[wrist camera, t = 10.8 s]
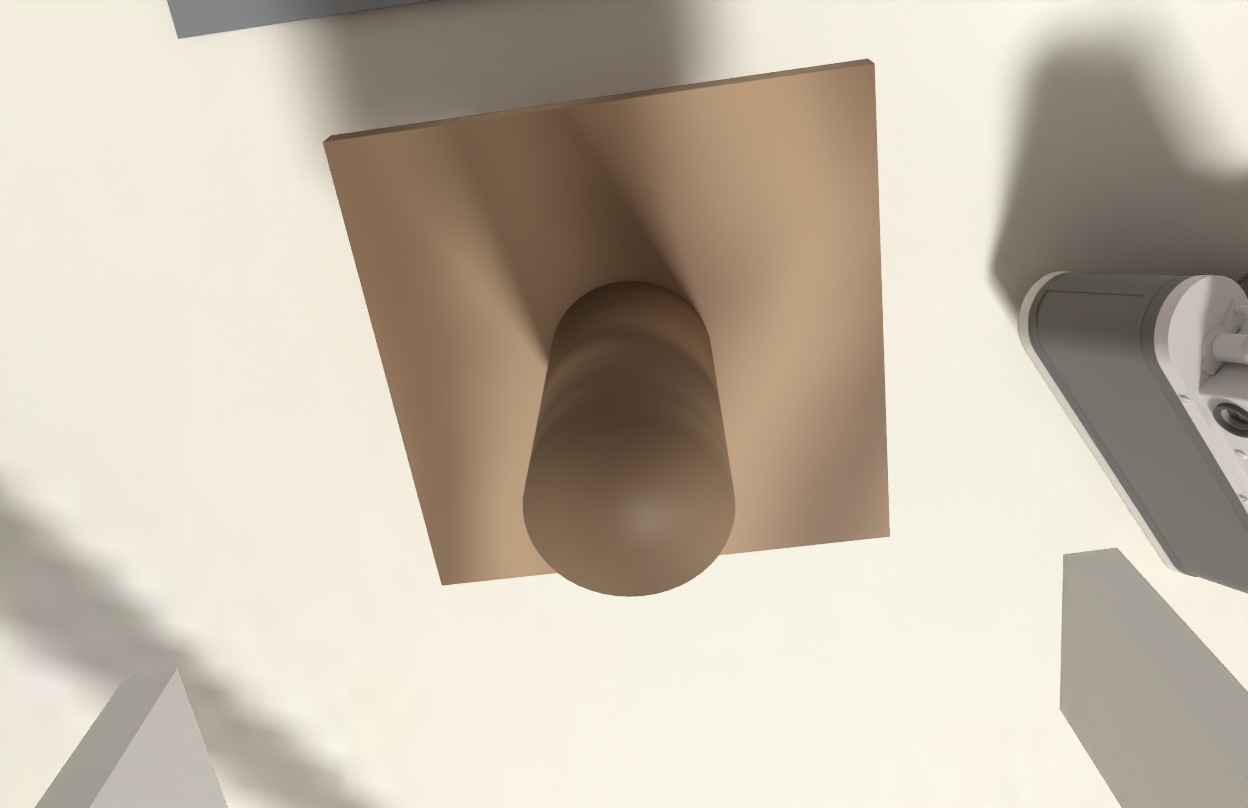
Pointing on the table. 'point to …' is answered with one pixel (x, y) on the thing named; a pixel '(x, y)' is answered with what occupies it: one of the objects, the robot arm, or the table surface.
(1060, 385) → the camera
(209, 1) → the mat
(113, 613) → the table surface
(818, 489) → the lid
